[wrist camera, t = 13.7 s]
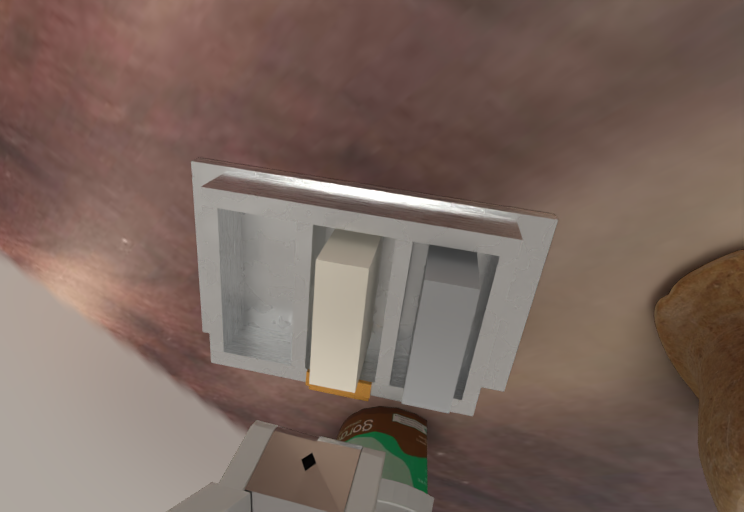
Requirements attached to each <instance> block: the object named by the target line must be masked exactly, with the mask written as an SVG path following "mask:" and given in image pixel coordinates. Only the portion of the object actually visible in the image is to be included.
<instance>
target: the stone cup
mask: <svg viewBox="0 0 744 512" xmlns="http://www.w3.org/2000/svg"><path fill="white" fill-rule="evenodd" d="M654 319H655V325H656V328H657V332H658V335H659V338H660V340H661V343H662V345H663V347H664V349H665V351H666V353H667V355H668V357H669V359H670V361H671V362H672V364H673V365H674V367H675V369H676V370H677V372H678V373H679V374H680V376H681V377H682V379H683V380H684V381H685V382H686V383H687V385H688V386H689V387H690V388H691V390H692V391H693V392H694V394H695V395H696V396H697V397H698V399H699V412H698V448H699V457H700V461H701V464H702V468H703V472H704V475H705V479H706V481H707V484H708V487H709V490H710V493H711V496H712V498H713V501H714V503H715V505H716V508H717V510H718V512H744V249H743V250H739V251H736V252H733V253H730V254H728V255H725V256H723V257H721V258H718V259H716V260H713V261H711V262H709V263H707V264H706V265H704V266H702V267H700V268H698V269H696V270H694V271H692V272H690V273H689V274H687V275H686V276H684V277H683V278H681V279H680V280H679V281H678V282H677V283H676V284H675V285H674V286H673V288H672V289H671V291H670V293H669V294H668V295H666V296H664V297H662V298H661V299H659V301H658V302H657V304H656V306H655V310H654Z"/></svg>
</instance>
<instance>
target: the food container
mask: <svg viewBox="0 0 744 512" xmlns="http://www.w3.org/2000/svg"><path fill="white" fill-rule="evenodd" d="M336 440H338V441H343V442H347V443H351V444H356V445H360V446H363V447H366V448H370V449H374V450H378V451H382V452H386V454H385V460H384V466H383V471H382V477H381V483H380V488H379V494H378V500H377V505H376V511H375V512H432V506H433V500H434V498H433V497H431V496H429V495H428V494H427V420H425V419H423V418H421V417H420V416H418V415H416V414H414V413H411V412H408V411H405V410H402V409H399V408H393V407H382V406H379V407H372V408H366V409H362V410H360V411H358V412H356V413H354V414H352V415H351V416H350V417H348V418H347V420H346V421H345V422H344V423H343V425H342V427H341V429H340V431H339V434H338V437H337V439H336Z"/></svg>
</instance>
